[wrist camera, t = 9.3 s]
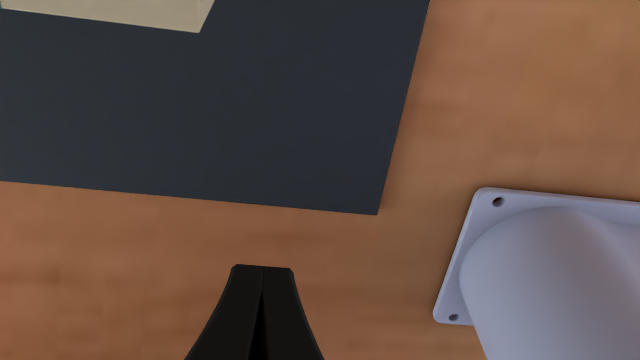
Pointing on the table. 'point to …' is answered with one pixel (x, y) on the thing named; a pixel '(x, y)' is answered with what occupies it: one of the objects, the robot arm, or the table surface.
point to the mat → (212, 102)
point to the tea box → (124, 11)
